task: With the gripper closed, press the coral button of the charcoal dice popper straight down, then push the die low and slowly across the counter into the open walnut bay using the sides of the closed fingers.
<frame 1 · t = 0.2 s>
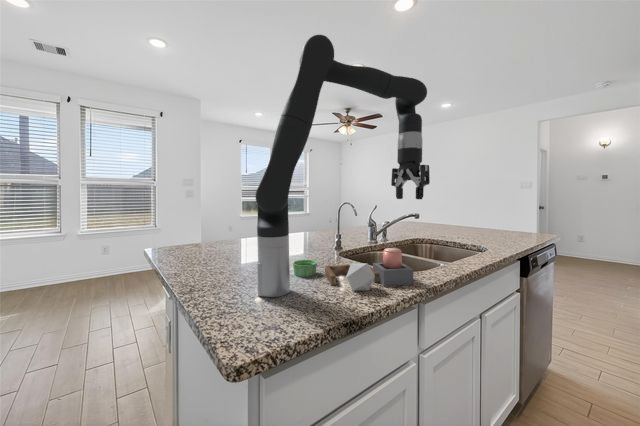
hand: (408, 199, 90), 27 cm above the worktop, tool pointing down, fingers open, 8 cm apart
popper button: (392, 257, 93), point 8 cm above the worktop, slide at 0.0 cm
ramekin: (305, 274, 103), on the worktop
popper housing: (392, 280, 94), on the worktop
die: (360, 289, 86), on the worktop
walnut bay: (350, 277, 97), on the worktop
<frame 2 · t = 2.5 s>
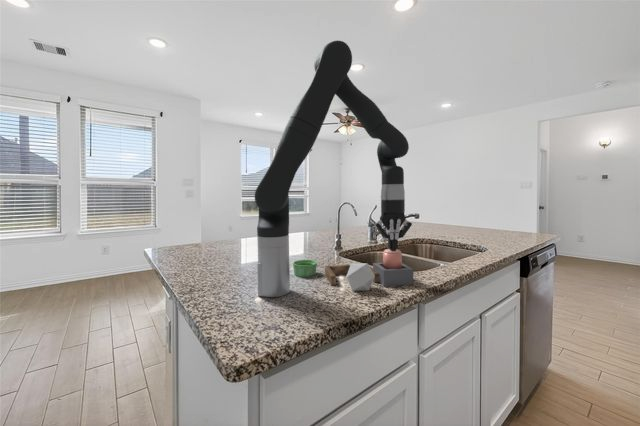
hand: (392, 250, 93), 10 cm above the worktop, tool pointing down, fingers closed
popper button: (392, 258, 93), point 7 cm above the worktop, slide at 0.4 cm, touching gripper
everything else where it was.
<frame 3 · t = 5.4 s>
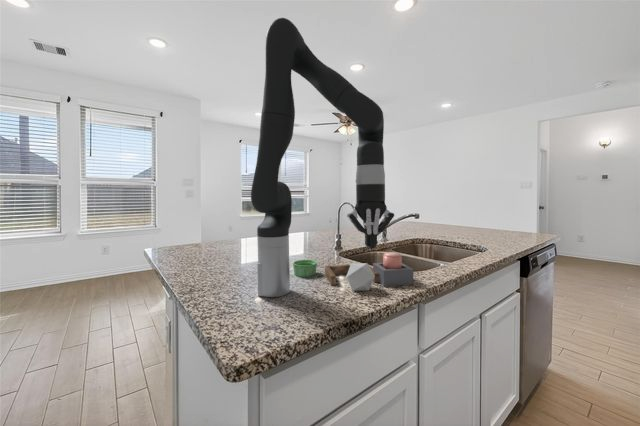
hand: (371, 247, 75), 15 cm above the worktop, tool pointing down, fingers closed
popper button: (392, 262, 93), point 6 cm above the worktop, slide at 1.5 cm
everything else where it was.
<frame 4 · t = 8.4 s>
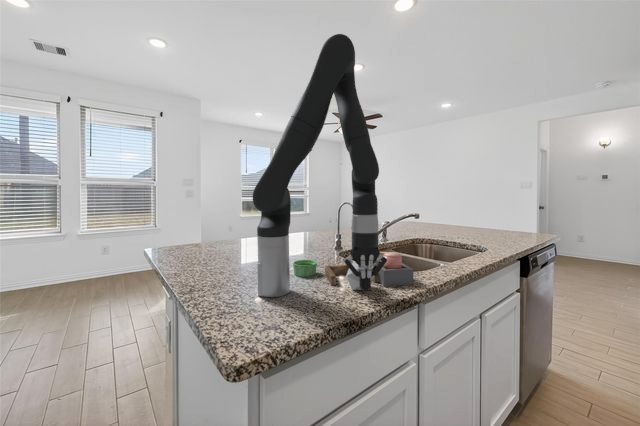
hand: (365, 289, 80), 1 cm above the worktop, tool pointing down, fingers closed
die: (359, 289, 86), on the worktop, touching gripper
everything else where it was.
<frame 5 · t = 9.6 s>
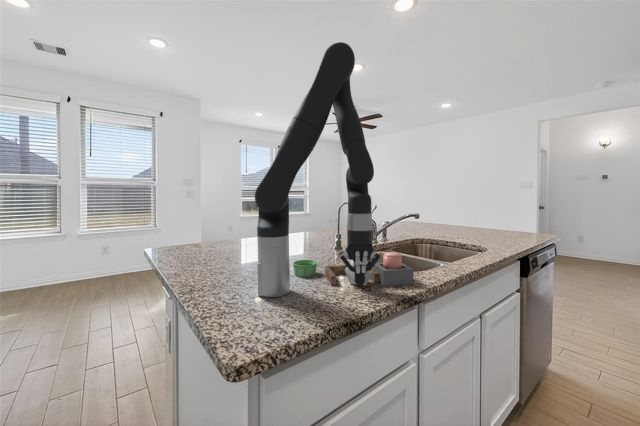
hand: (359, 284, 85), 1 cm above the worktop, tool pointing down, fingers closed
die: (358, 284, 91), on the worktop, touching gripper
everything else where it was.
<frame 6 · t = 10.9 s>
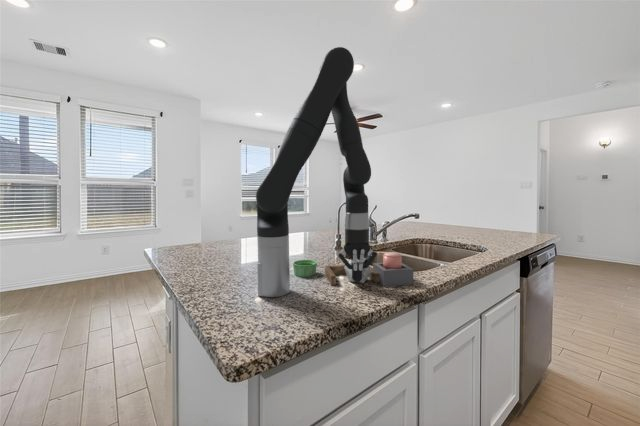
hand: (357, 281, 88), 1 cm above the worktop, tool pointing down, fingers closed
die: (358, 281, 94), on the worktop, touching gripper
everything else where it was.
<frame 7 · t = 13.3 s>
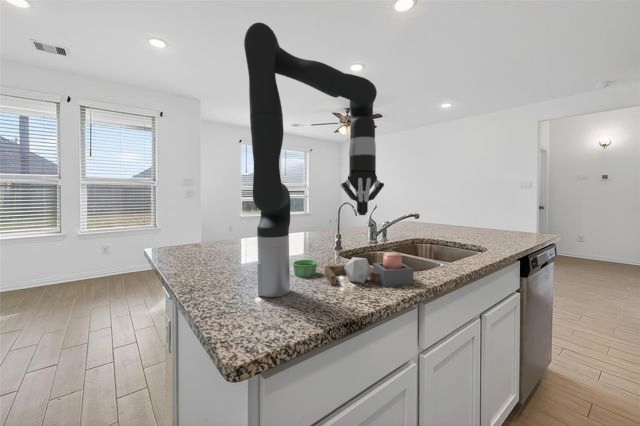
hand: (362, 214, 82), 23 cm above the worktop, tool pointing down, fingers closed
die: (358, 281, 94), on the worktop
everything else where it was.
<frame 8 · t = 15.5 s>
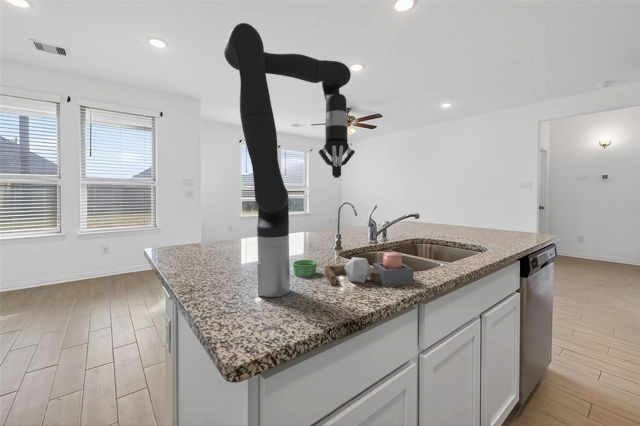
hand: (336, 177, 97), 35 cm above the worktop, tool pointing down, fingers closed
nothing on the worktop moved.
at the end: popper button slide at 1.5 cm; die inside the target area (3.4 cm from its centre), on the worktop; die moved 8.0 cm from its start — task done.
